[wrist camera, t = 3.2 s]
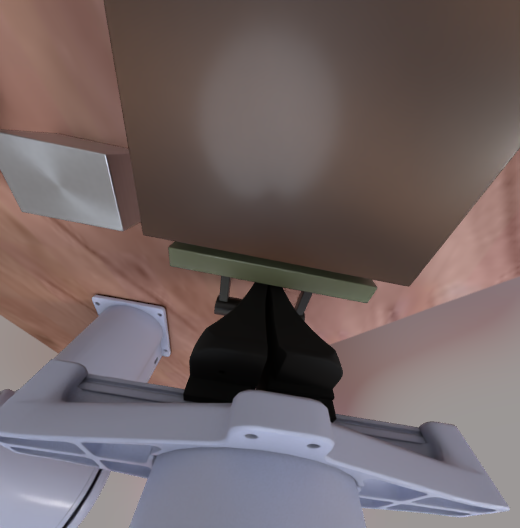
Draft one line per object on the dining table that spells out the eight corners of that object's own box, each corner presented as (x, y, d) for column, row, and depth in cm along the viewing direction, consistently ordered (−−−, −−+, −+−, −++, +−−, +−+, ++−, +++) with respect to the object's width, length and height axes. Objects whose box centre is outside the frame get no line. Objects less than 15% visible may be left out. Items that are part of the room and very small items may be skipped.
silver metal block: (149, 153, 13) (105, 154, 10) (156, 213, 15) (123, 232, 12) (56, 133, 13) (-23, 127, 9) (78, 198, 15) (21, 212, 12)
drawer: (318, 296, 18) (334, 352, 13) (202, 274, 17) (174, 323, 12) (460, -4, 8) (730, -225, 3) (210, -70, 8) (101, -434, 3)
